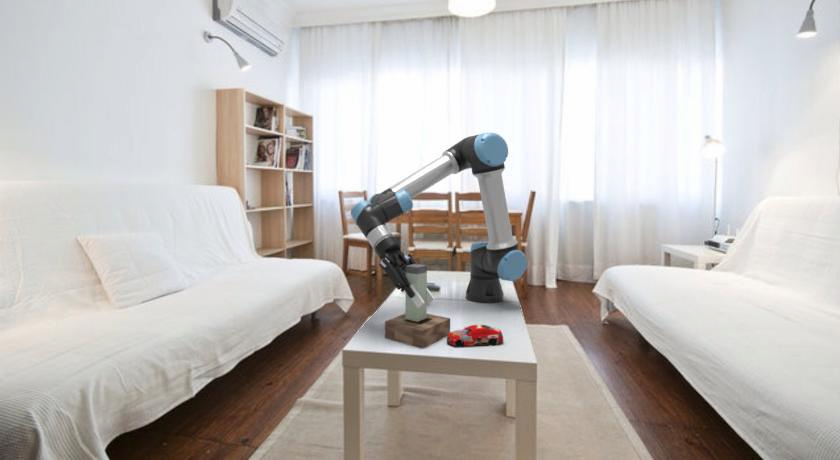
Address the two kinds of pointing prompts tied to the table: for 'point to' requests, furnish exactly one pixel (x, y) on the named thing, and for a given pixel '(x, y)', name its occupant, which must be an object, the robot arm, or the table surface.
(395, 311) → the table surface
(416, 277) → the pin
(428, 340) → the collar block
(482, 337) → the race car
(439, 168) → the robot arm
